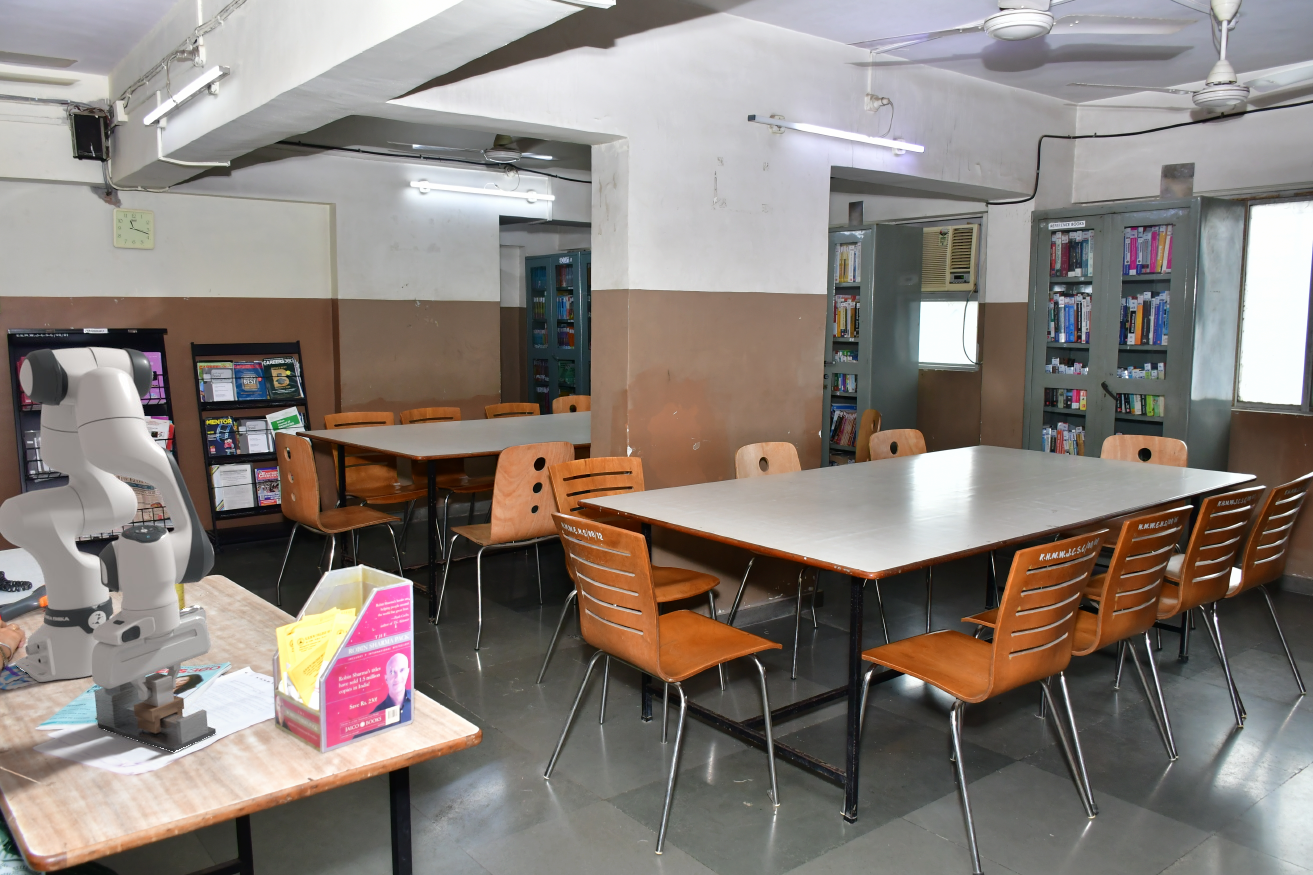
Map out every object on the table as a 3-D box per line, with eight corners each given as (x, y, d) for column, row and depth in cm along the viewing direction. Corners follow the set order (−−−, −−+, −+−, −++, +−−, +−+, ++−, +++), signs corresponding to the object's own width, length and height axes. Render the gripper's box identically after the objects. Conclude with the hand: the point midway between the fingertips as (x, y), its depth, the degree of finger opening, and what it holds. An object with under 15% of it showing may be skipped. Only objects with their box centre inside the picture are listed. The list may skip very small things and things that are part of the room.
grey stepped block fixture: (97, 727, 168) (92, 674, 166) (140, 710, 175) (135, 659, 173) (174, 753, 158) (169, 696, 156) (215, 733, 165) (211, 680, 163)
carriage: (135, 728, 164) (131, 680, 163) (167, 715, 169) (163, 669, 168) (153, 734, 162) (149, 685, 160) (185, 720, 167) (181, 673, 166)
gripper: (193, 599, 173) (198, 670, 175) (82, 633, 155) (90, 712, 157) (215, 604, 170) (221, 676, 172) (106, 639, 152) (113, 719, 154)
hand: (157, 693), depth 165 cm, fingers closed on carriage, 3 cm apart
